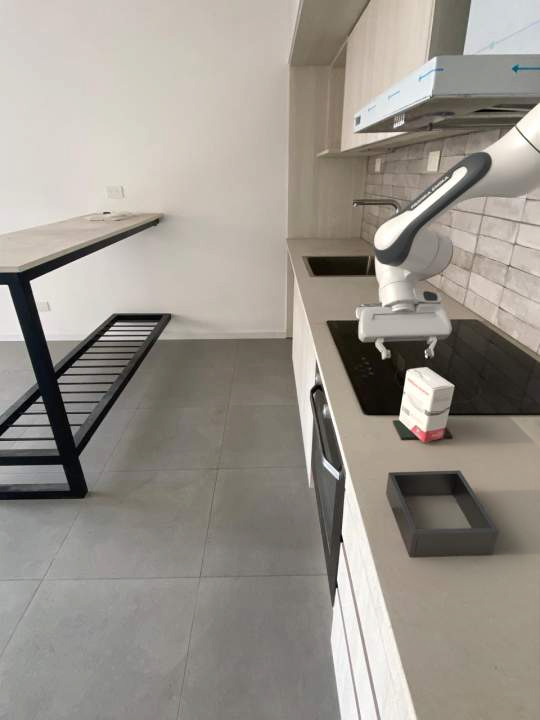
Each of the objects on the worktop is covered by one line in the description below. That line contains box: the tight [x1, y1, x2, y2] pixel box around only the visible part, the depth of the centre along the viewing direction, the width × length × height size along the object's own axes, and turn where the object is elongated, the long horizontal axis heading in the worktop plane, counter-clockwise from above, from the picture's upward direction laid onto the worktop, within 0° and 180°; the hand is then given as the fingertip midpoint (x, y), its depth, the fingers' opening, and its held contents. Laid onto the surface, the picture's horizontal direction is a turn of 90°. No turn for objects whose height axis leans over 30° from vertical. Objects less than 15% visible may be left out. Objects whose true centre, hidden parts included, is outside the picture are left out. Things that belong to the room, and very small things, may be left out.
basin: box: [385, 469, 500, 558], centre depth 58 cm, size 11×12×4 cm
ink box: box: [398, 366, 456, 443], centre depth 77 cm, size 9×5×12 cm, turn 17°
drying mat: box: [392, 419, 454, 441], centre depth 80 cm, size 10×6×1 cm, turn 90°
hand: (408, 358), depth 87 cm, fingers open, 8 cm apart
